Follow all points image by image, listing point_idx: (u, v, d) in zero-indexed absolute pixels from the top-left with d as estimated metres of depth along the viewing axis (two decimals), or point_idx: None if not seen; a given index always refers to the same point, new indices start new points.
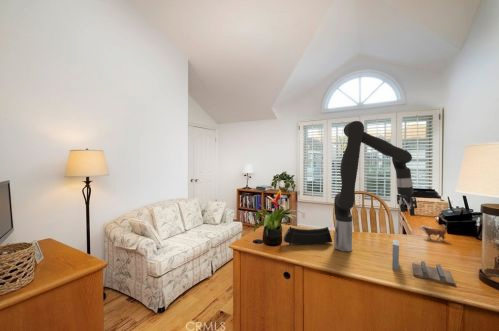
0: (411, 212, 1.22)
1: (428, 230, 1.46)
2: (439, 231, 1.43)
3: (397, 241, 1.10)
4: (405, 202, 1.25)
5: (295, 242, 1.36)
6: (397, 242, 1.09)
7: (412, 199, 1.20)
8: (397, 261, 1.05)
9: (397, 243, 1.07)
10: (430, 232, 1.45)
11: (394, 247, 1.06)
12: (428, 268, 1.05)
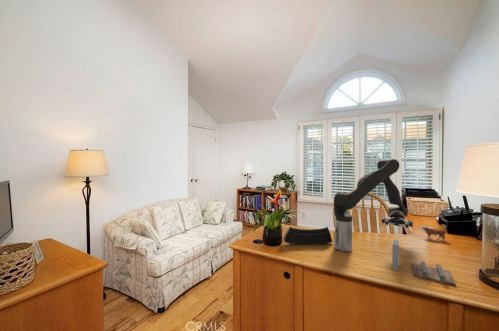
0: (407, 224, 1.17)
1: (428, 230, 1.46)
2: (439, 231, 1.43)
3: (397, 241, 1.10)
4: (401, 219, 1.23)
5: (295, 242, 1.36)
6: (397, 242, 1.09)
7: (411, 221, 1.22)
8: (397, 261, 1.05)
9: (397, 243, 1.07)
10: (430, 232, 1.45)
11: (394, 247, 1.06)
12: (428, 268, 1.05)
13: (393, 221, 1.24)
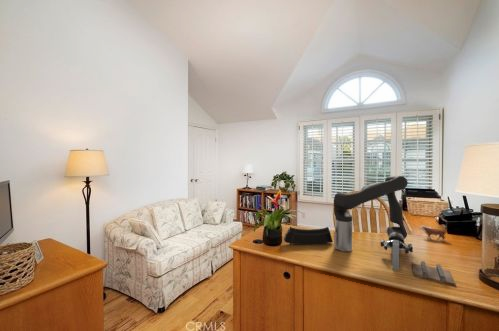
0: (407, 249, 1.11)
1: (428, 230, 1.46)
2: (439, 231, 1.43)
3: (397, 241, 1.10)
4: (401, 243, 1.17)
5: (295, 242, 1.36)
6: (397, 242, 1.09)
7: (411, 245, 1.17)
8: (397, 261, 1.05)
9: (397, 243, 1.07)
10: (430, 232, 1.45)
11: (394, 247, 1.06)
12: (428, 268, 1.05)
13: (392, 245, 1.19)
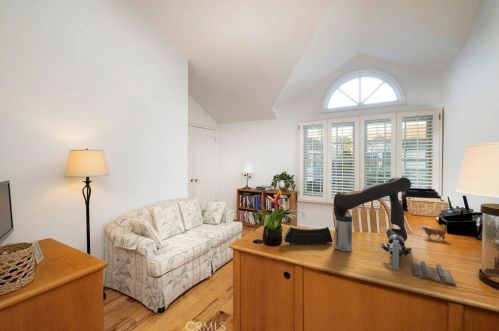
0: (401, 252, 1.08)
1: (428, 230, 1.46)
2: (439, 231, 1.43)
3: (397, 241, 1.10)
4: None
5: (295, 242, 1.36)
6: (397, 242, 1.09)
7: (410, 249, 1.11)
8: (397, 261, 1.05)
9: (397, 243, 1.07)
10: (430, 232, 1.45)
11: (394, 247, 1.06)
12: (428, 268, 1.05)
13: None
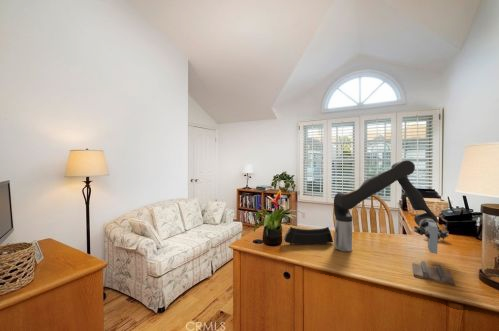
0: (438, 235, 1.00)
1: None
2: None
3: (434, 223, 1.02)
4: None
5: (296, 242, 1.36)
6: (434, 224, 1.01)
7: (448, 232, 1.03)
8: (436, 244, 0.97)
9: (435, 225, 0.99)
10: None
11: (432, 229, 0.98)
12: (428, 268, 1.05)
13: None
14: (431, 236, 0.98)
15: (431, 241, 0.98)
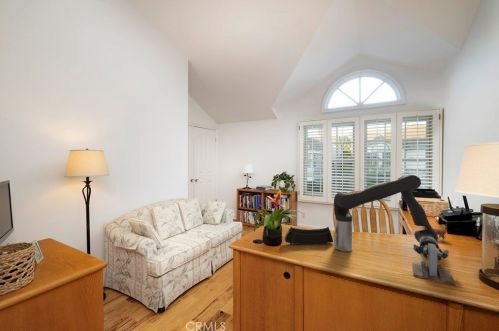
0: (440, 255, 1.00)
1: None
2: (439, 231, 1.43)
3: (433, 245, 1.02)
4: None
5: (296, 242, 1.36)
6: (434, 246, 1.01)
7: (448, 252, 1.03)
8: (435, 267, 0.97)
9: (434, 247, 1.00)
10: None
11: (432, 252, 0.98)
12: None
13: None
14: (431, 259, 0.98)
15: (431, 264, 0.98)
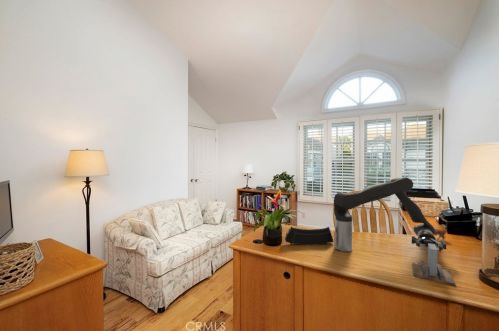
0: (441, 246, 1.10)
1: None
2: (439, 231, 1.43)
3: (433, 245, 1.02)
4: (433, 240, 1.16)
5: (296, 242, 1.36)
6: (434, 246, 1.01)
7: None
8: (435, 267, 0.97)
9: (434, 247, 1.00)
10: None
11: (432, 252, 0.98)
12: None
13: (424, 242, 1.17)
14: (431, 259, 0.98)
15: (431, 264, 0.98)
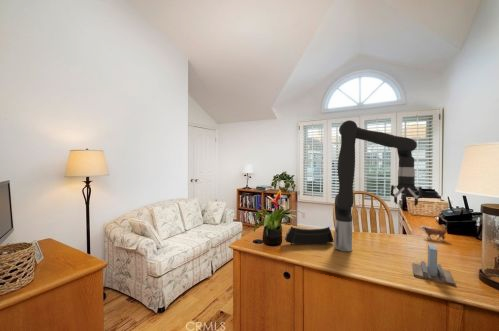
0: (416, 202, 1.18)
1: (428, 230, 1.46)
2: (439, 231, 1.43)
3: (433, 245, 1.02)
4: (410, 192, 1.18)
5: (296, 242, 1.36)
6: (434, 246, 1.01)
7: (421, 188, 1.17)
8: (435, 267, 0.97)
9: (434, 247, 1.00)
10: (430, 232, 1.45)
11: (432, 252, 0.98)
12: None
13: (402, 193, 1.22)
14: (431, 259, 0.98)
15: (431, 264, 0.98)
